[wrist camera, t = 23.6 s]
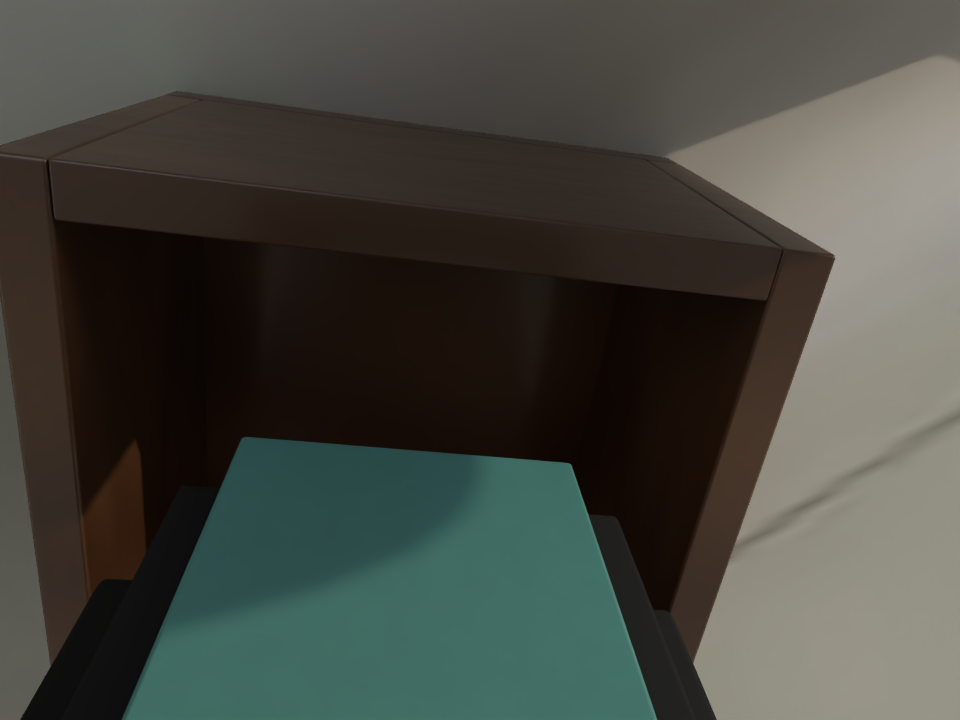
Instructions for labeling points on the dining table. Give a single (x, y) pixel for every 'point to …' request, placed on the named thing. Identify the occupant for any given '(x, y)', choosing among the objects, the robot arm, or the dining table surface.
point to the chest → (386, 323)
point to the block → (392, 595)
